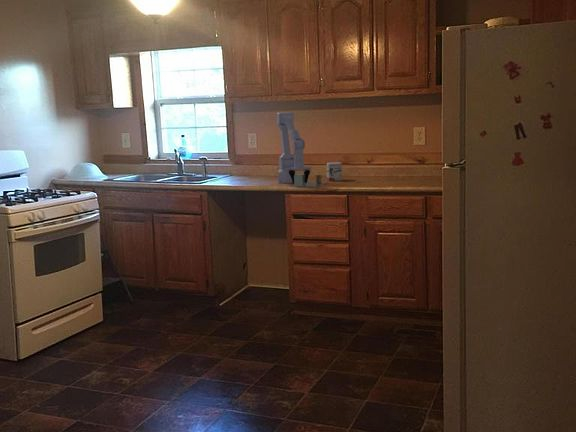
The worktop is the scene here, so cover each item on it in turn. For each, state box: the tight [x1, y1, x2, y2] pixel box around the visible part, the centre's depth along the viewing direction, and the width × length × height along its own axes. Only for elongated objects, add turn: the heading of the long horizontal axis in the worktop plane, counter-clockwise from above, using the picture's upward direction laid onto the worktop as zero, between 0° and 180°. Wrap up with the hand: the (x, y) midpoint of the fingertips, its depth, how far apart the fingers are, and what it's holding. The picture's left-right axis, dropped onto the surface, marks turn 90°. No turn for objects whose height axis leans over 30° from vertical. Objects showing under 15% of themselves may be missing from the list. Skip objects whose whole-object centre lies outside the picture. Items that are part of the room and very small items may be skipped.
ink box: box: [326, 161, 343, 182], centre depth 407 cm, size 9×5×12 cm, turn 101°
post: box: [315, 174, 323, 183], centre depth 397 cm, size 3×3×5 cm
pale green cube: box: [293, 173, 306, 188], centre depth 389 cm, size 5×5×7 cm
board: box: [289, 181, 328, 188], centre depth 395 cm, size 18×20×1 cm
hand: (300, 182), depth 389 cm, fingers open, 7 cm apart
